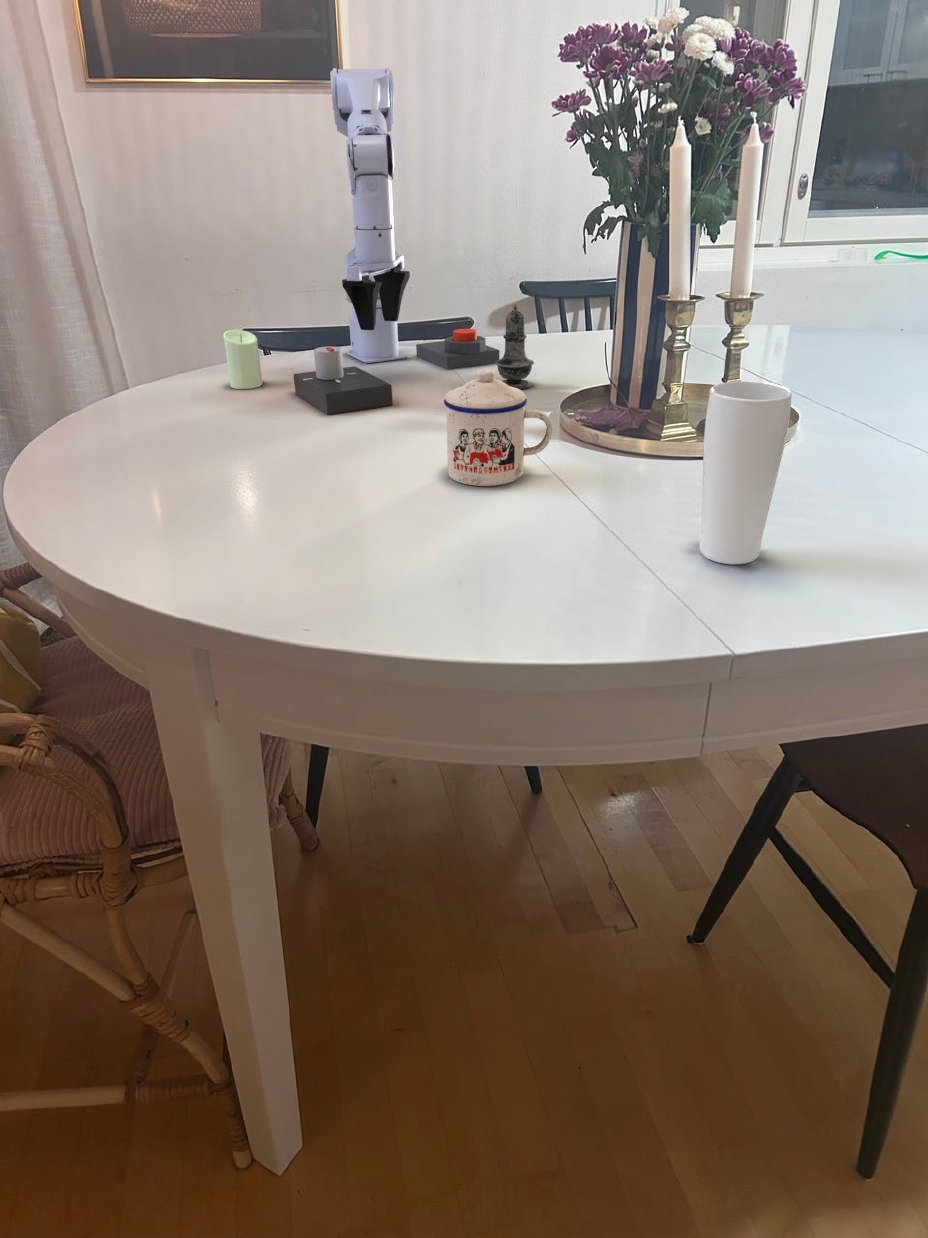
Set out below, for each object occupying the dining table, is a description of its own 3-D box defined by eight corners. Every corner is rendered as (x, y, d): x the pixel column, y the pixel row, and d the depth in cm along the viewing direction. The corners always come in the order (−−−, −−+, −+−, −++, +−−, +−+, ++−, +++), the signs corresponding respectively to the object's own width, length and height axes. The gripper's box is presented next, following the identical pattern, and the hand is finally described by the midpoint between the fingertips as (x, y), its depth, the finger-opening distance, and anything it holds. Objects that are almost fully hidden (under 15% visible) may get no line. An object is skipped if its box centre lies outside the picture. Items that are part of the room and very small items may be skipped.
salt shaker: (534, 381, 142) (535, 301, 136) (532, 390, 137) (534, 307, 131) (496, 380, 143) (496, 301, 137) (494, 389, 137) (494, 307, 132)
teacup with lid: (443, 487, 99) (440, 381, 94) (447, 461, 107) (445, 362, 102) (552, 488, 99) (556, 380, 93) (549, 461, 107) (552, 361, 101)
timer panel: (294, 393, 137) (292, 372, 136) (356, 385, 141) (355, 364, 140) (326, 415, 126) (324, 392, 125) (392, 405, 130) (391, 383, 129)
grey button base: (416, 356, 159) (415, 333, 157) (466, 350, 163) (466, 327, 161) (448, 370, 150) (448, 345, 148) (500, 363, 154) (501, 339, 152)
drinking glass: (681, 542, 85) (698, 382, 78) (751, 538, 86) (774, 379, 79) (704, 572, 79) (724, 401, 72) (779, 568, 80) (807, 398, 73)
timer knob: (312, 375, 134) (309, 346, 132) (337, 372, 136) (335, 343, 134) (321, 381, 131) (319, 350, 129) (347, 377, 133) (345, 347, 131)
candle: (269, 384, 142) (262, 331, 139) (242, 391, 139) (235, 336, 135) (250, 380, 145) (243, 327, 142) (223, 386, 142) (216, 332, 138)
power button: (449, 340, 153) (449, 330, 153) (469, 338, 155) (469, 327, 154) (460, 344, 150) (460, 333, 149) (481, 342, 152) (481, 331, 151)
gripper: (373, 223, 138) (378, 315, 145) (324, 232, 127) (332, 331, 133) (414, 224, 136) (418, 318, 142) (368, 233, 124) (374, 334, 131)
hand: (379, 325), depth 138 cm, fingers open, 7 cm apart
